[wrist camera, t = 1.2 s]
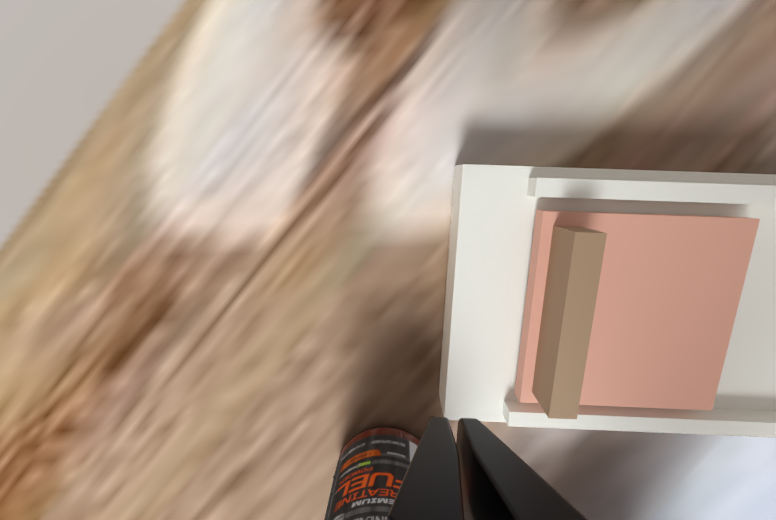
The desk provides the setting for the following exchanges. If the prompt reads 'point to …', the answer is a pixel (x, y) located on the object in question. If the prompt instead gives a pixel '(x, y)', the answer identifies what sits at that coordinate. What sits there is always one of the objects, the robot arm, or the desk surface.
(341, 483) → the supplement bottle
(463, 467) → the robot arm
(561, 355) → the lid
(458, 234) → the board
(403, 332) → the desk surface
